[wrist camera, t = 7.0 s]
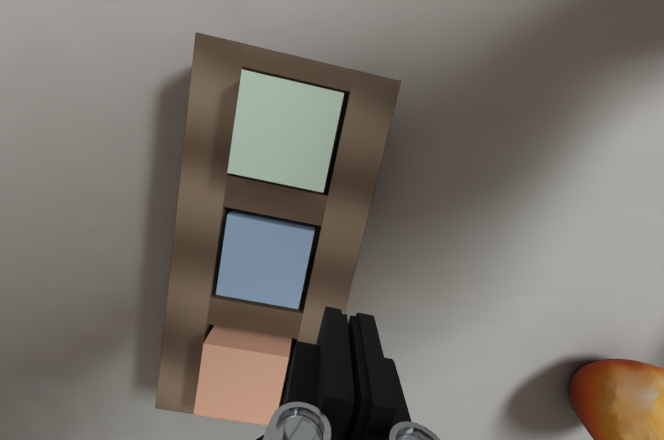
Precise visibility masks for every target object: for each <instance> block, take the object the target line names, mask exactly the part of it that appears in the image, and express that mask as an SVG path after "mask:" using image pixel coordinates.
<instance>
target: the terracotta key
mask: <svg viewBox="0 0 664 440" xmlns="http://www.w3.org/2000/svg"><path fill="white" fill-rule="evenodd" d="M291 341H292V338H289V337H283V336H277V335H271V334H265V333H260V332H254V331H248V330H242V329H236V328H230V327H224V326H218V325H214V326H213V328H212V330H211V331H210V333H209V335H208V337H207V338H206V340H205V342H204V343H203V350H202V357H201V365H200V372H199V379H198V386H197V393H196V400H195V408H194V415H200V416H207V417H214V418H220V419H227V420H234V421H241V422H248V423H254V424H261V425H268V424H269V422H270V419H271V417H272V415H273V414H274V412H275V411H276V410H277V409H278V408H279V403H280V398H281V394H282V389H283V384H284V379H285V374H286V370H287V365H288V360H289V354H290V348H291Z"/></svg>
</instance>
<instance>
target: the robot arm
mask: <svg viewBox="0 0 664 440" xmlns="http://www.w3.org/2000/svg"><path fill="white" fill-rule="evenodd" d="M256 440H440V439H439V438H438V437H437V436H436V435H435V434H434V433H433V432H432V431H430V430H429V429H427V428H426V427H424V426H422V425H420V424H417V423H414V422H411V419H410V415H409V412H408V408H407V405H406V401H405V398H404V394H403V391H402V387H401V384H400V380H399V377H398V373H397V370H396V366H395V363H394V361H393V360H392V359H388V358H384V355H383V351H382V347H381V343H380V339H379V335H378V331H377V327H376V323H375V319H374V316H372V315H367V314H362V313H357V314H356V316H351V317H350V319H349V323H348V322H347V315H346V314H342V310H341V309H337V308H332V307H327V306H326V307H325V310H324V314H323V318H322V322H321V326H320V330H319V334H318V338H317V342H316V344H310V343H305V342H300V341H297V342H296V346H295V350H294V355H293V359H292V363H291V368H290V373H289V378H288V383H287V389H286V394H285V400H284V405H282V406H281V407H279V408H278V409H277V410H276V411H275V412H274V414H273V415H272V417H271V419H270V422H269V424H268V427H267V429H266V432H265V434H264V435H263V436H261V437H260V438H258V439H256Z"/></svg>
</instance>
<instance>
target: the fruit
mask: <svg viewBox="0 0 664 440" xmlns="http://www.w3.org/2000/svg"><path fill="white" fill-rule="evenodd" d="M568 395H569V398H570V403H571V405H572V407H573V408H572V409H574V411H575V412H576V414H577V415H578V417H579V419H580V420H581V422H582V423H583V425H584V426H585V428H586V429H587V431H588V432H589V434H590V435H591V436H592V438H593V439H594V440H664V369H662V368H660V367H655V366H653V365H650V364H646V363H642V362H638V361H633V360H625V359H607V360H600V361H596V362H593V363H590V364H588V365H585V366H583V367H581V368H580V369H579V370H578V371H577V372H576V373H575V374H574V376H573V378H572V381H571V385H570V388H569V394H568Z"/></svg>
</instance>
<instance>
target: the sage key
mask: <svg viewBox="0 0 664 440" xmlns="http://www.w3.org/2000/svg"><path fill="white" fill-rule="evenodd" d="M343 97H344V93H341V92H337V91H333V90H329V89H324V88H320V87H316V86H311V85H307V84H303V83H298V82H294V81H290V80H286V79H281V78H277V77H273V76H268V75H264V74H260V73H255V72H251V71H247V70H243V69H242V71H241V78H240V85H239V93H238V100H237V107H236V114H235V121H234V128H233V136H232V143H231V150H230V157H229V164H228V171H227V173H230V174H235V175H240V176H245V177H250V178H255V179H259V180H264V181H269V182H274V183H279V184H284V185H289V186H293V187H298V188H303V189H308V190H313V191H318V192H322V193H323V192H324V188H325V183H326V178H327V173H328V168H329V164H330V159H331V154H332V149H333V144H334V140H335V135H336V130H337V125H338V120H339V116H340V111H341V106H342V101H343Z"/></svg>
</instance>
